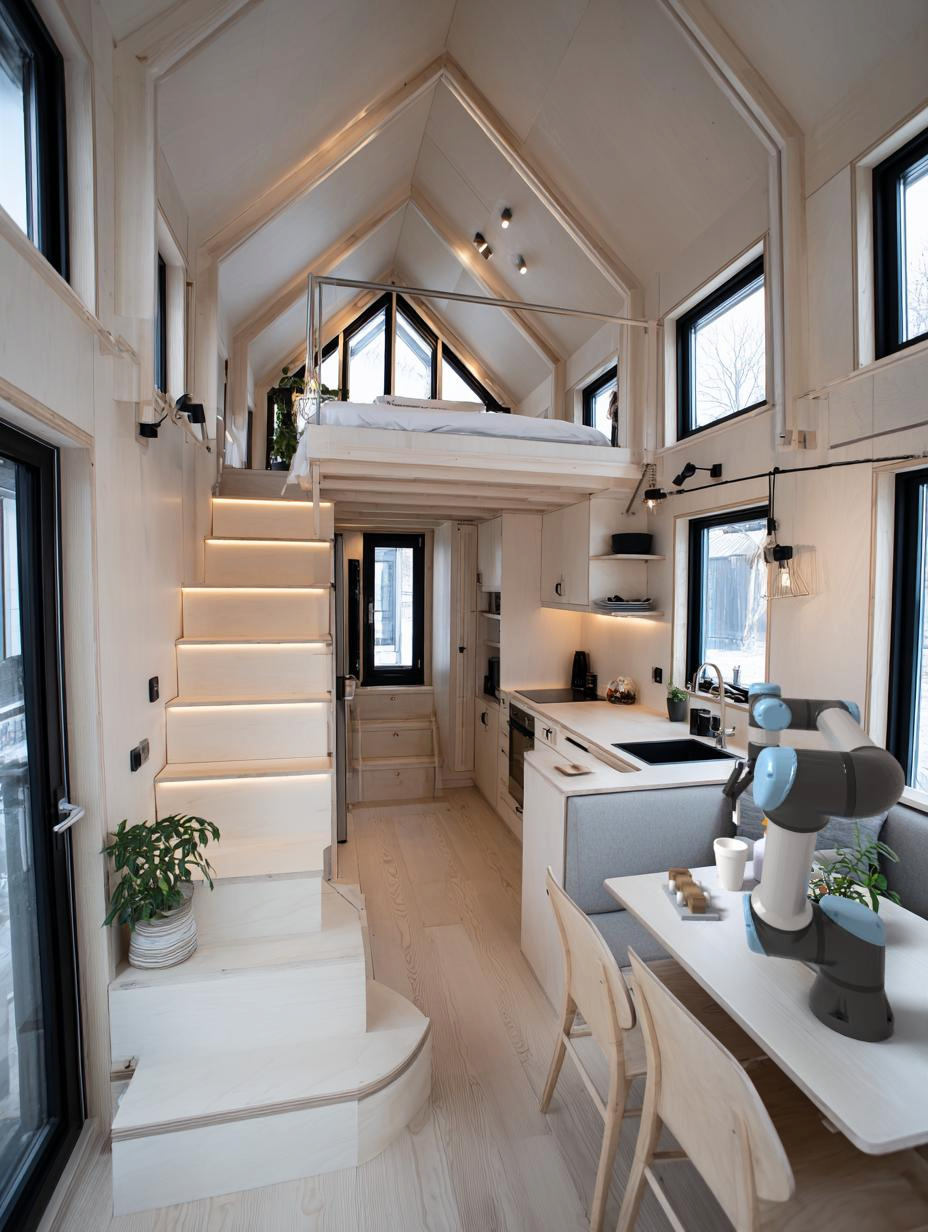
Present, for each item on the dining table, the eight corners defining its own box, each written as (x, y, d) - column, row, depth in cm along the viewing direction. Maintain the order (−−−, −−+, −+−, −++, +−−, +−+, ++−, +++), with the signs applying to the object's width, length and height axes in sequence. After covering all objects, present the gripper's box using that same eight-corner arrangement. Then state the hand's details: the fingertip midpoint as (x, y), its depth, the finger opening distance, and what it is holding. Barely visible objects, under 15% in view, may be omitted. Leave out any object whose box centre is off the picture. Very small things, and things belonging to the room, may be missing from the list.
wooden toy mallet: (709, 914, 166) (709, 898, 166) (688, 913, 166) (688, 897, 166) (687, 882, 184) (687, 868, 184) (668, 882, 184) (668, 868, 184)
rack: (719, 920, 165) (719, 903, 165) (681, 920, 165) (682, 902, 165) (695, 888, 183) (696, 873, 183) (662, 888, 183) (662, 872, 183)
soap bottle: (749, 880, 189) (750, 801, 188) (757, 869, 196) (759, 794, 195) (781, 889, 183) (782, 808, 182) (788, 878, 190) (790, 800, 189)
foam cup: (747, 882, 187) (747, 840, 187) (747, 896, 179) (748, 852, 178) (713, 876, 191) (714, 835, 190) (712, 889, 182) (713, 847, 182)
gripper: (805, 739, 161) (803, 818, 162) (710, 738, 162) (709, 817, 163) (820, 746, 154) (819, 829, 155) (721, 745, 155) (719, 828, 155)
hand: (762, 823), depth 159 cm, fingers open, 13 cm apart
